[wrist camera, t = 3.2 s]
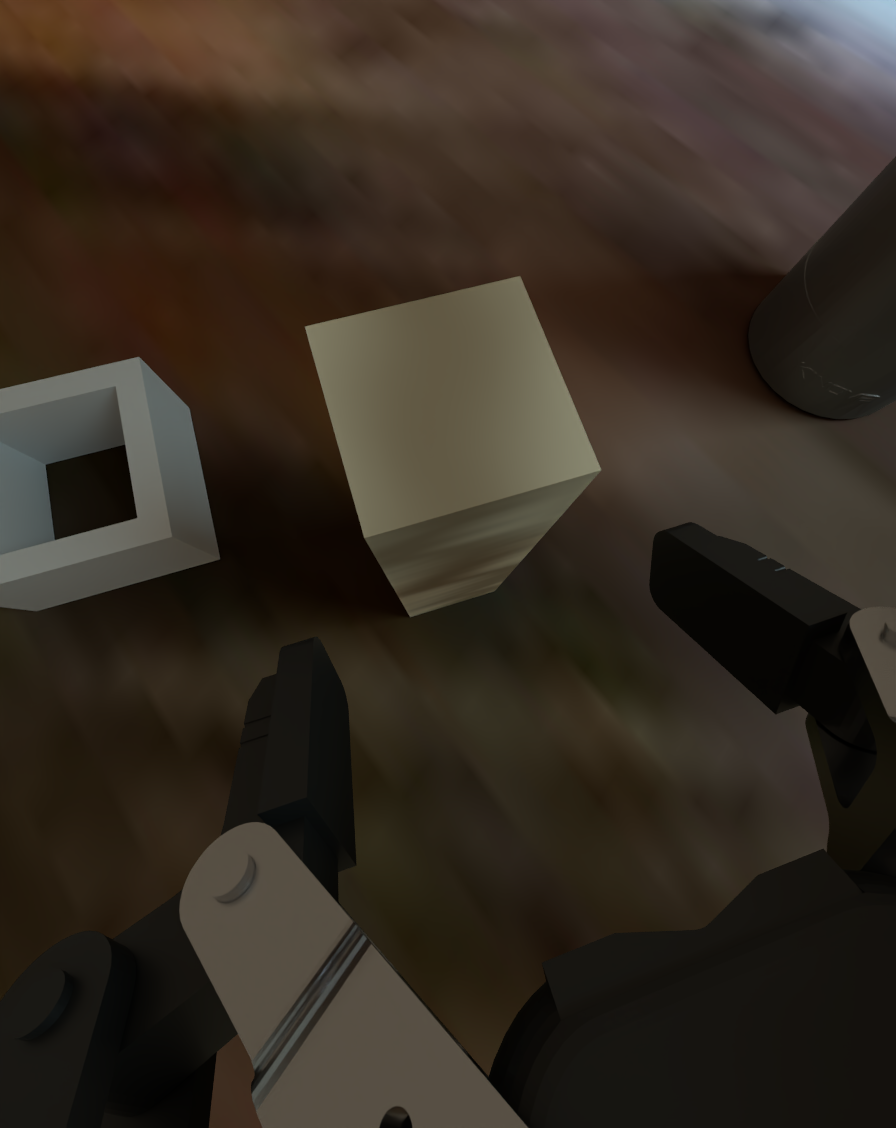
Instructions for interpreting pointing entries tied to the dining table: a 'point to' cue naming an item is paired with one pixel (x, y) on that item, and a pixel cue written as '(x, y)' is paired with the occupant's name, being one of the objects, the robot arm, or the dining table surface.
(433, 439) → the block
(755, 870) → the dining table surface
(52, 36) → the dining table surface
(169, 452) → the post
